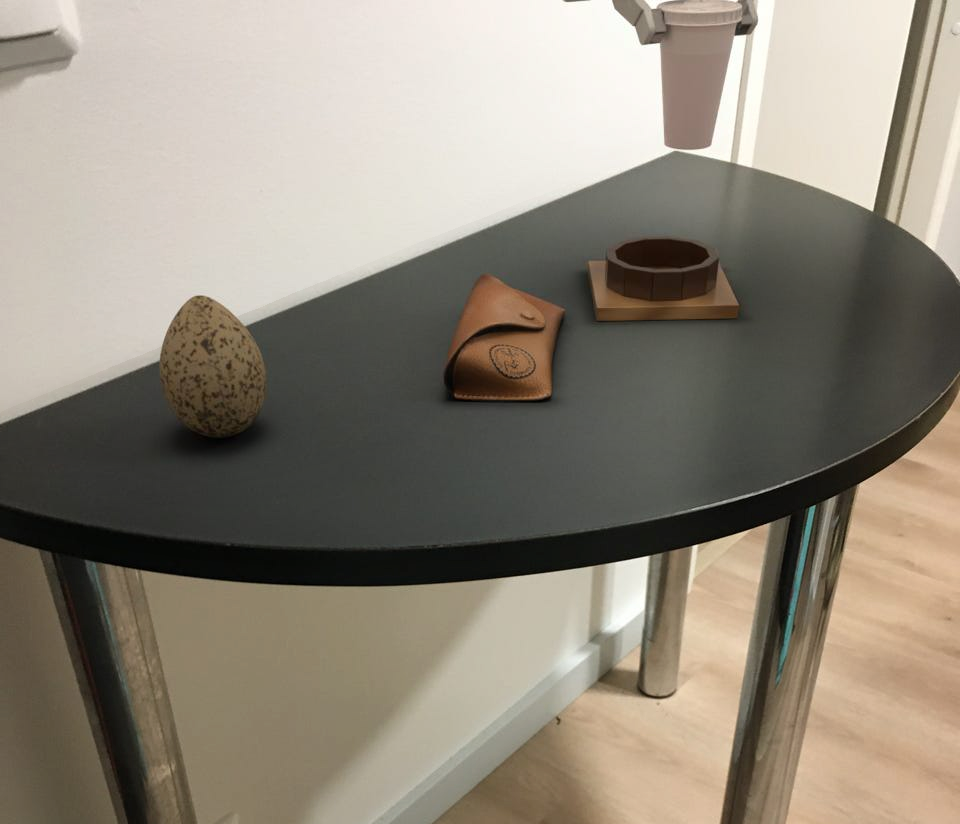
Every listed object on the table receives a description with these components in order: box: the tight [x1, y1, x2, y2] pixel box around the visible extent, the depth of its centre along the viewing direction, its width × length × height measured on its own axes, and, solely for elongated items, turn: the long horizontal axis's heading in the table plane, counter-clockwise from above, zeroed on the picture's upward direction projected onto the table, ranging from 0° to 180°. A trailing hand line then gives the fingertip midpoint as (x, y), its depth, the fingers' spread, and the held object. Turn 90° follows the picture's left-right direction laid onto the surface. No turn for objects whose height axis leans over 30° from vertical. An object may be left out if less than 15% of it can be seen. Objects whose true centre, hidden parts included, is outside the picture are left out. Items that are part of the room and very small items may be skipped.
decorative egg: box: [158, 294, 268, 439], centre depth 76 cm, size 7×7×10 cm
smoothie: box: [656, 0, 742, 151], centre depth 84 cm, size 6×6×14 cm
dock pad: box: [587, 235, 740, 322], centre depth 98 cm, size 12×12×4 cm
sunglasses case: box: [443, 272, 567, 403], centre depth 88 cm, size 18×7×7 cm
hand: (701, 34), depth 83 cm, fingers closed on smoothie, 6 cm apart
